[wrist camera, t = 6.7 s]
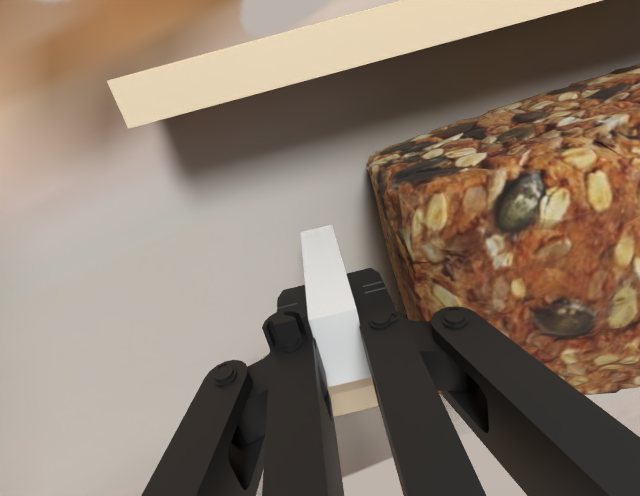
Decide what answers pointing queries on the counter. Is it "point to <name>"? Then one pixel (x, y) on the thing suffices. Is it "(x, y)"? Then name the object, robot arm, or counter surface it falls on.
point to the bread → (528, 225)
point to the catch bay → (317, 74)
